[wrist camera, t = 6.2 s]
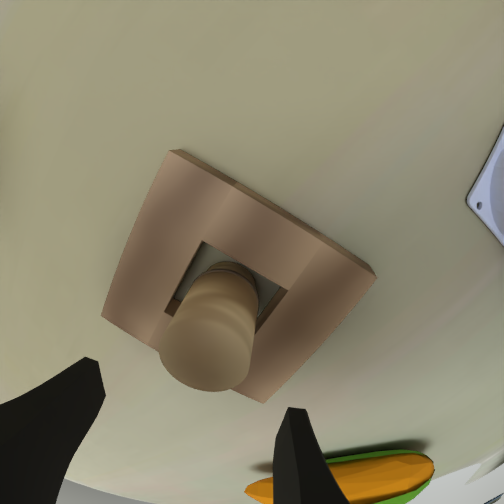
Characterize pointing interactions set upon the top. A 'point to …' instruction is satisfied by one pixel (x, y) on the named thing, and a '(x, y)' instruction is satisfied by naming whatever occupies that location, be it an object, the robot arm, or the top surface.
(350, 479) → the corn
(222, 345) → the peg
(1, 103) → the top surface
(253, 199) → the board
